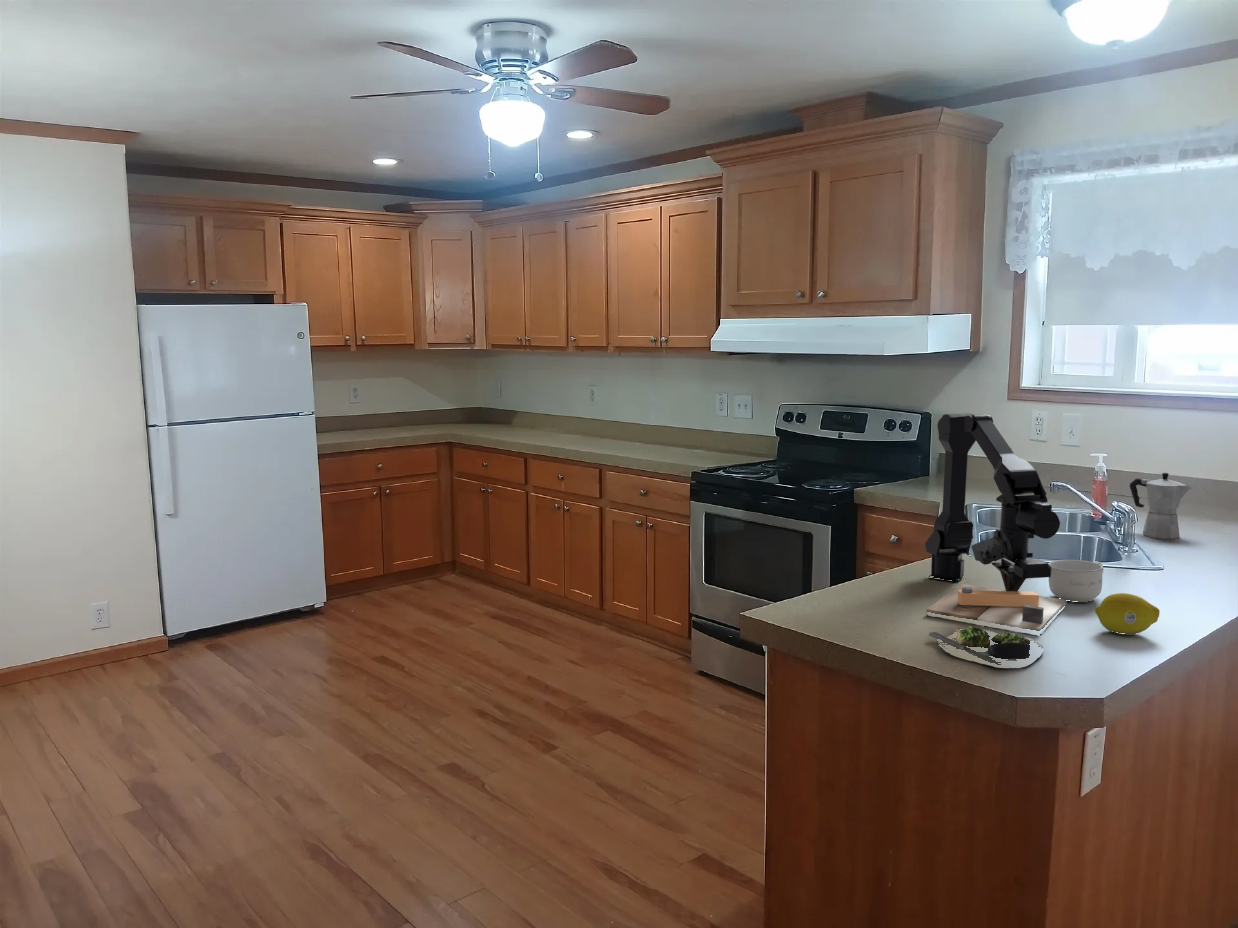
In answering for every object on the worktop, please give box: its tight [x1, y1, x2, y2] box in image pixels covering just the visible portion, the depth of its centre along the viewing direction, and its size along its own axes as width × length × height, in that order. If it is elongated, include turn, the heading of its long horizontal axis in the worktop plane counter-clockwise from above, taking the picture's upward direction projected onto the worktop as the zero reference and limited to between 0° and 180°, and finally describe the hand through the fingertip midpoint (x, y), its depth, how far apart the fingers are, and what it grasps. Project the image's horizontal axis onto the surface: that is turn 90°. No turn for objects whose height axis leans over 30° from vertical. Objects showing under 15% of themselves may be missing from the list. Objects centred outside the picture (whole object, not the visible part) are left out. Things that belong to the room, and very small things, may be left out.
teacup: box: [1047, 559, 1104, 603], centre depth 197 cm, size 14×11×8 cm
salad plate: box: [928, 625, 1044, 665], centre depth 167 cm, size 19×18×5 cm
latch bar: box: [958, 587, 1040, 607], centre depth 188 cm, size 16×2×3 cm, turn 82°
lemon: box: [1094, 592, 1160, 635], centre depth 174 cm, size 11×8×8 cm
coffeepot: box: [1129, 472, 1193, 540], centre depth 253 cm, size 15×9×18 cm, turn 44°
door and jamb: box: [926, 583, 1067, 631], centre depth 189 cm, size 22×23×4 cm
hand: (1010, 598), depth 190 cm, fingers closed
